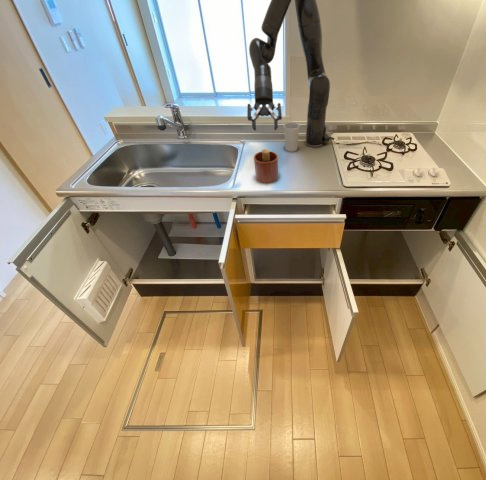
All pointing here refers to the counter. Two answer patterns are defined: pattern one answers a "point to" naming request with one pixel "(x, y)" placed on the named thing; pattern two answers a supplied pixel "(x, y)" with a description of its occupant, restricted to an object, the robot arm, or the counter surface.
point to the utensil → (265, 155)
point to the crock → (266, 168)
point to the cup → (291, 136)
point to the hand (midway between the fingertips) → (265, 129)
